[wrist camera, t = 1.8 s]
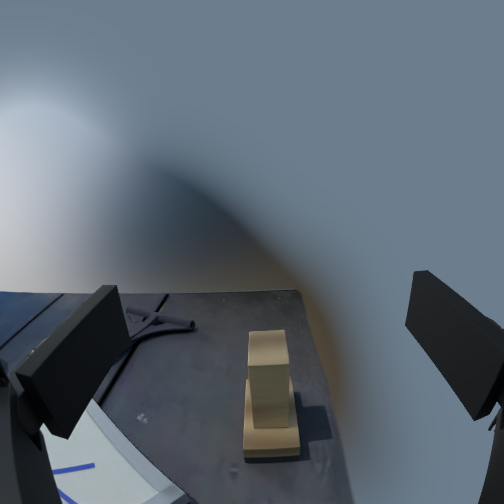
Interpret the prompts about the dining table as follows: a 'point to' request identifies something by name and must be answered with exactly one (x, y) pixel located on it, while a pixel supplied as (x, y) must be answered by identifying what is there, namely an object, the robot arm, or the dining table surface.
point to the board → (105, 466)
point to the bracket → (152, 324)
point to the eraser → (269, 401)
